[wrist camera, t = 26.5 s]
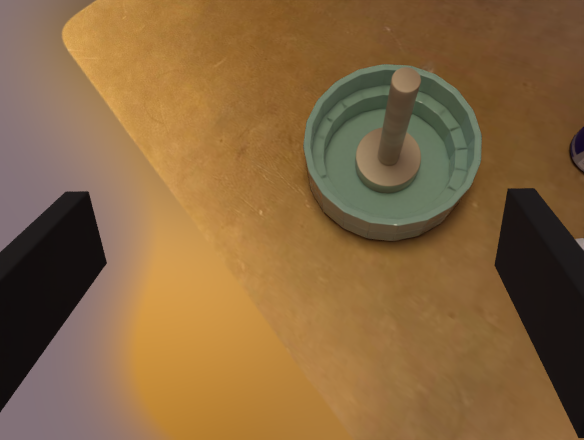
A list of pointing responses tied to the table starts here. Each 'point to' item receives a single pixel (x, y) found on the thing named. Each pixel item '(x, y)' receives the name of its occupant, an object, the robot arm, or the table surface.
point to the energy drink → (578, 149)
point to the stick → (392, 140)
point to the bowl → (422, 127)
